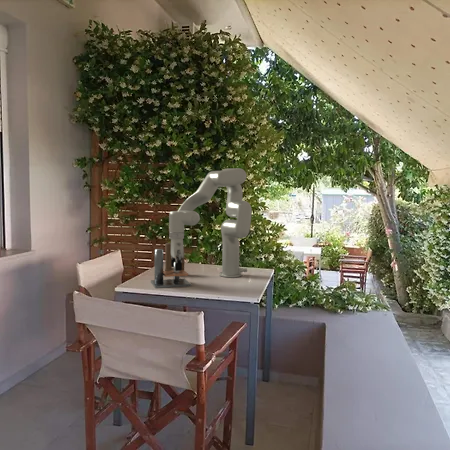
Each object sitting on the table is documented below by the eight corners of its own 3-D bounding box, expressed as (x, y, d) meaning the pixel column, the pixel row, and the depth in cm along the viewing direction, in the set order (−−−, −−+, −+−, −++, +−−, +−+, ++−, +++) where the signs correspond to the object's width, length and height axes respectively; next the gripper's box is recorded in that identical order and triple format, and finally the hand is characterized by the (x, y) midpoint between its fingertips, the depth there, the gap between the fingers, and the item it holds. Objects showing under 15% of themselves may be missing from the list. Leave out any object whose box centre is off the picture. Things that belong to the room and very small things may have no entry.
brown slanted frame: (184, 275, 249) (184, 243, 247) (165, 275, 247) (165, 243, 246) (183, 274, 252) (184, 242, 251) (164, 274, 251) (164, 242, 249)
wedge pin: (178, 281, 228) (178, 262, 228) (180, 282, 226) (180, 263, 225) (173, 281, 228) (173, 262, 227) (174, 282, 225) (174, 263, 224)
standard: (155, 288, 216) (155, 251, 215) (150, 282, 230) (150, 247, 228) (191, 286, 222) (191, 250, 221) (184, 280, 235) (184, 246, 234)
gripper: (187, 237, 218) (187, 271, 219) (180, 233, 234) (179, 265, 236) (172, 237, 215) (172, 272, 217) (166, 233, 232) (165, 266, 233)
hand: (176, 268), depth 226 cm, fingers open, 9 cm apart
